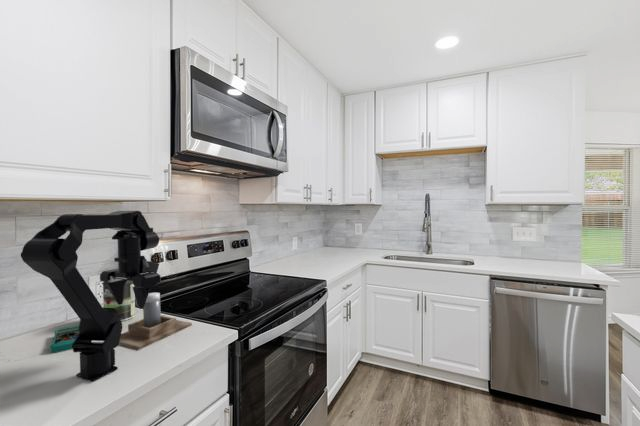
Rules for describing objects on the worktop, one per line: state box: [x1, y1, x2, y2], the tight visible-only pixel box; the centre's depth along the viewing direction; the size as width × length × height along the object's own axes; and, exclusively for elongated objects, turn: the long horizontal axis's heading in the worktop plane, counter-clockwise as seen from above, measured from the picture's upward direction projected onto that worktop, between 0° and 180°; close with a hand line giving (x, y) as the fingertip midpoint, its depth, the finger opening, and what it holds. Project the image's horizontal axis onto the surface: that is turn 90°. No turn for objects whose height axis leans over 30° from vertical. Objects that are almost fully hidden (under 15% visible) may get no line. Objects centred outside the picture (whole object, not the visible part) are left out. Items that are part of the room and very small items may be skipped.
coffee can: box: [102, 280, 136, 322], centre depth 118 cm, size 10×10×14 cm
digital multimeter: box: [50, 325, 80, 354], centre depth 98 cm, size 7×15×3 cm, turn 36°
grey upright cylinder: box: [142, 292, 162, 328], centre depth 104 cm, size 5×5×12 cm
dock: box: [119, 315, 193, 351], centre depth 104 cm, size 20×14×4 cm
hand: (130, 306), depth 91 cm, fingers open, 9 cm apart
